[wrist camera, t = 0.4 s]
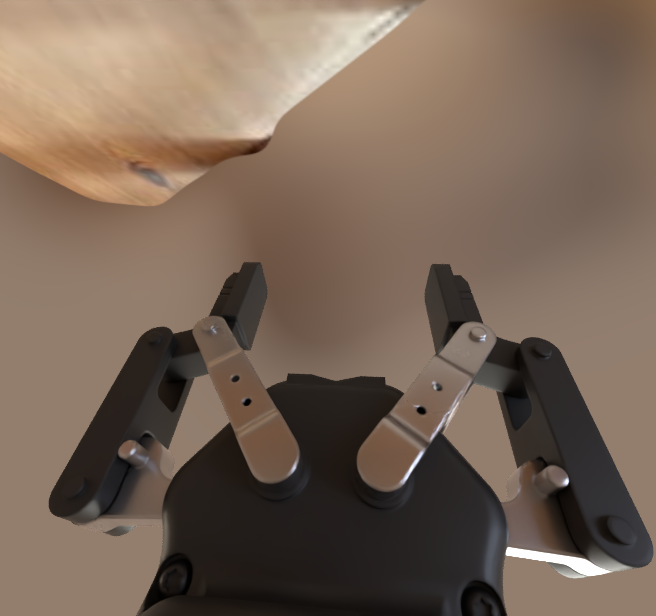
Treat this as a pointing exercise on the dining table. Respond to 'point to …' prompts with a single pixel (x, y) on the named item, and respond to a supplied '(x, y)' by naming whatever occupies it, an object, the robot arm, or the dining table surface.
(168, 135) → the dining table surface
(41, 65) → the dining table surface
